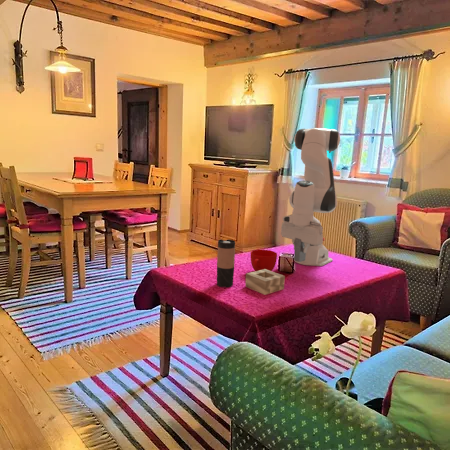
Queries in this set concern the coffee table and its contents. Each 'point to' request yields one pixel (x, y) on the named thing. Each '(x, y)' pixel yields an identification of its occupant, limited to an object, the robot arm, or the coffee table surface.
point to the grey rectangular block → (299, 251)
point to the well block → (265, 281)
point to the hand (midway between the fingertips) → (300, 251)
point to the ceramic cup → (263, 259)
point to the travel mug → (225, 262)
